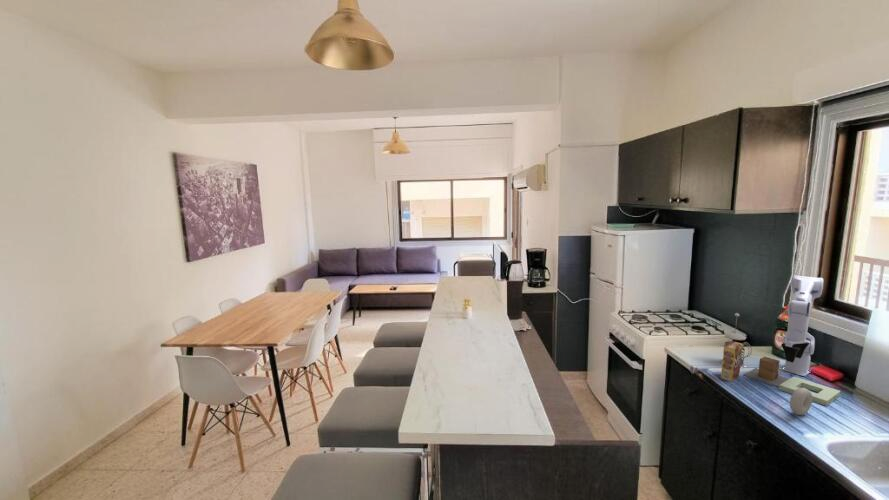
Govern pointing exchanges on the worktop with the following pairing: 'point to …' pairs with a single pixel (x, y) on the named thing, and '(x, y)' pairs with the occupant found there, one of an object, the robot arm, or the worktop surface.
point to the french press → (735, 337)
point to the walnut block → (768, 368)
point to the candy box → (731, 361)
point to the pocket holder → (822, 397)
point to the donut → (801, 401)
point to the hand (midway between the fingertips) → (793, 359)
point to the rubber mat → (754, 375)
